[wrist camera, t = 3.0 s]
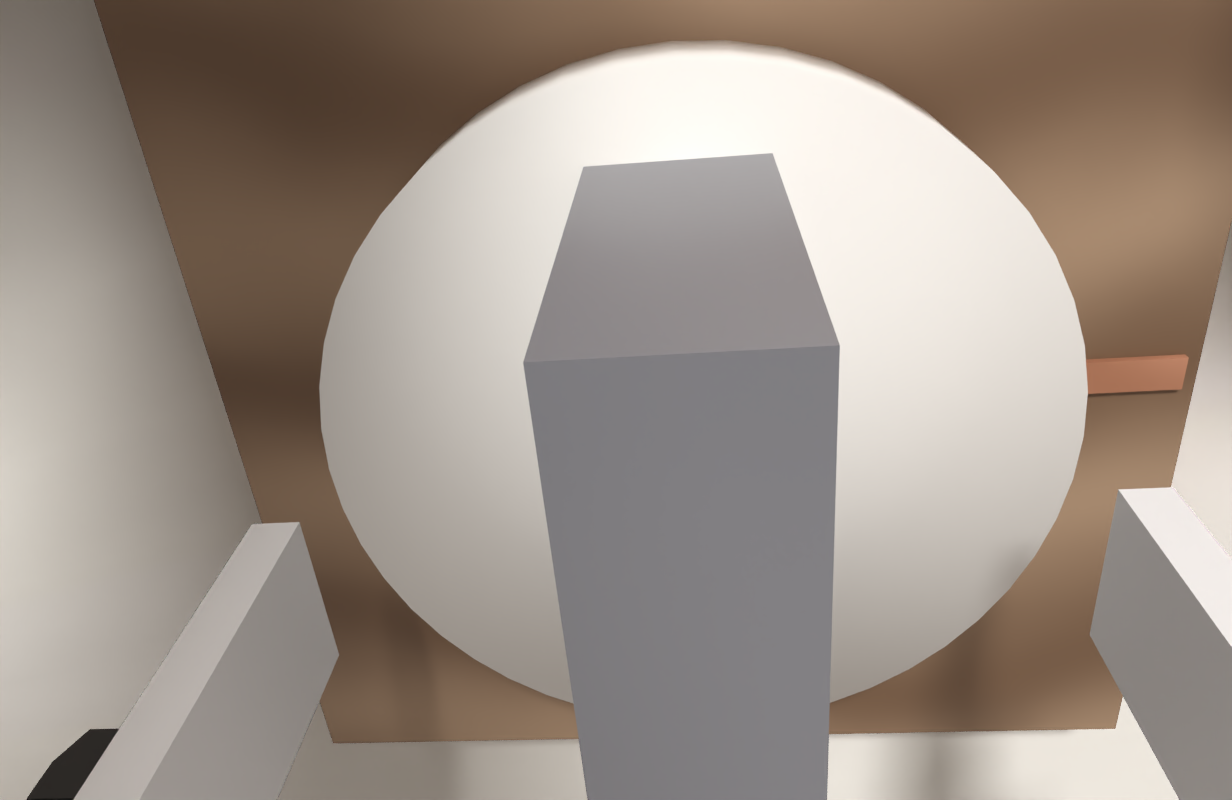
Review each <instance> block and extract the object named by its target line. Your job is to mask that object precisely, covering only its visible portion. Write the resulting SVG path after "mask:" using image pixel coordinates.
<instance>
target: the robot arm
mask: <svg viewBox="0 0 1232 800" xmlns="http://www.w3.org/2000/svg"><path fill="white" fill-rule="evenodd" d="M1090 636H1091V638H1092V640H1093V642H1094V644H1095V646H1096V647H1097V649H1098V651H1099V653H1100V655H1101V657H1102V658H1103V660H1104V662H1105V664H1106V666H1107V668H1108V669H1109V671H1110V673H1111V675H1112V677H1113V679H1114V680H1115V682H1116V684H1117V686H1118V688H1119V690H1120V691H1121V693H1122V695H1123V697H1124V699H1125V701H1126V702H1127V704H1128V706H1129V708H1130V710H1131V712H1132V713H1133V715H1134V717H1135V719H1136V721H1137V723H1138V725H1139V726H1140V728H1141V730H1142V732H1143V734H1144V736H1145V737H1146V739H1147V741H1148V743H1149V745H1150V747H1151V748H1152V750H1153V752H1154V754H1155V756H1156V758H1157V759H1158V761H1159V763H1160V765H1161V767H1162V769H1163V770H1164V772H1165V774H1166V776H1167V778H1168V780H1169V781H1170V783H1171V785H1172V787H1173V789H1174V791H1175V792H1176V794H1177V796H1178V798H1179V800H1232V558H1231V557H1230V556H1229V554H1228V553H1227V552H1226V551H1225V550H1224V548H1223V547H1222V546H1221V545H1220V543H1219V542H1218V541H1217V540H1216V538H1215V537H1214V536H1213V535H1212V534H1211V532H1210V531H1209V530H1208V529H1207V527H1206V526H1205V525H1204V524H1203V522H1202V521H1201V520H1200V519H1199V518H1198V516H1197V515H1196V514H1195V513H1194V511H1193V510H1192V509H1191V508H1190V506H1189V505H1188V504H1187V503H1186V502H1185V500H1184V499H1183V498H1182V497H1181V495H1180V494H1179V493H1178V492H1177V490H1176V489H1175V488H1174V487H1168V488H1143V489H1118V493H1117V498H1116V503H1115V508H1114V514H1113V519H1112V524H1111V529H1110V534H1109V539H1108V544H1107V549H1106V554H1105V559H1104V564H1103V569H1102V574H1101V579H1100V584H1099V589H1098V594H1097V599H1096V604H1095V609H1094V615H1093V620H1092V625H1091V630H1090ZM338 657H339V653H338V649H337V646H336V643H335V639H334V636H333V633H332V629H331V626H330V623H329V619H328V616H327V613H326V609H325V606H324V603H323V599H322V596H321V592H320V589H319V586H318V582H317V579H316V576H315V572H314V569H313V566H312V562H311V559H310V556H309V552H308V549H307V546H306V542H305V539H304V536H303V532H302V529H301V526H300V522H289V523H263V524H252V525H251V526H250V528H249V529H248V531H247V532H246V534H245V536H244V537H243V539H242V540H241V542H240V543H239V545H238V546H237V548H236V549H235V551H234V552H233V554H232V556H231V557H230V559H229V560H228V562H227V563H226V565H225V566H224V568H223V569H222V571H221V573H220V574H219V576H218V577H217V579H216V580H215V582H214V583H213V585H212V586H211V588H210V590H209V591H208V593H207V594H206V596H205V597H204V599H203V600H202V602H201V603H200V605H199V607H198V608H197V610H196V611H195V613H194V614H193V616H192V617H191V619H190V620H189V622H188V623H187V625H186V627H185V628H184V630H183V631H182V633H181V634H180V636H179V637H178V639H177V640H176V642H175V644H174V645H173V647H172V648H171V650H170V651H169V653H168V654H167V656H166V657H165V659H164V661H163V662H162V664H161V665H160V667H159V668H158V670H157V671H156V673H155V674H154V676H153V678H152V679H151V681H150V682H149V684H148V685H147V687H146V688H145V690H144V691H143V693H142V694H141V696H140V698H139V699H138V701H137V702H136V704H135V705H134V707H133V708H132V710H131V711H130V713H129V715H128V716H127V718H126V719H125V721H124V722H123V724H122V725H121V727H120V728H119V729H90V730H89V731H88V732H86V733H85V734H84V735H83V736H82V737H81V738H79V739H78V740H77V741H76V742H75V743H74V744H73V745H71V746H70V747H69V748H68V749H67V750H66V751H64V752H63V753H62V754H61V755H60V756H59V757H58V758H56V759H55V760H54V761H53V762H52V763H51V765H50V766H49V768H48V769H47V770H46V772H45V773H44V775H43V776H42V778H41V779H40V780H39V782H38V783H37V785H36V786H35V788H34V789H33V790H32V792H31V793H30V795H29V796H28V798H27V800H277V799H278V797H279V794H280V792H281V790H282V787H283V785H284V783H285V780H286V778H287V776H288V773H289V771H290V769H291V766H292V764H293V762H294V759H295V757H296V755H297V752H298V750H299V748H300V745H301V743H302V741H303V738H304V736H305V734H306V731H307V729H308V727H309V724H310V722H311V720H312V717H313V715H314V713H315V710H316V708H317V706H318V703H319V701H320V699H321V696H322V694H323V692H324V689H325V687H326V685H327V682H328V680H329V678H330V675H331V673H332V671H333V668H334V666H335V664H336V661H337V659H338Z"/></svg>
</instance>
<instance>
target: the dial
mask: <svg viewBox="0 0 1232 800" xmlns="http://www.w3.org/2000/svg"><path fill="white" fill-rule="evenodd" d="M319 391H320V413H321V430H322V436H323V441H324V446H325V451H326V456H327V461H328V466H329V471H330V474H331V476H332V479H333V482H334V485H335V488H336V491H337V494H338V496H339V499H340V502H341V505H342V508H343V510H344V512H345V514H346V516H347V518H348V520H349V522H350V524H351V526H352V528H353V530H354V532H355V534H356V536H357V538H358V540H359V542H360V543H361V545H362V547H363V548H364V550H365V551H366V553H367V554H368V556H369V557H370V558H371V560H372V561H373V563H374V564H375V566H376V567H377V569H378V570H379V572H380V573H381V574H382V576H383V577H384V579H385V580H386V581H387V582H388V583H389V584H390V586H391V587H392V588H393V589H394V590H395V591H396V592H397V593H398V595H399V596H400V597H401V598H402V599H403V600H404V601H405V602H406V604H407V605H408V606H409V607H410V608H411V609H412V610H413V611H414V612H415V613H416V614H418V615H419V616H420V617H421V618H422V619H423V620H424V621H425V622H426V623H428V624H429V625H430V626H431V627H432V628H433V629H434V630H435V631H437V632H438V633H439V634H440V635H441V636H442V637H444V638H445V639H447V640H448V641H449V642H451V643H452V644H454V645H455V646H457V647H458V648H459V649H461V650H462V651H464V652H465V653H466V654H468V655H469V656H471V657H472V658H473V659H475V660H477V661H479V662H480V663H482V664H484V665H486V666H488V667H489V668H491V669H493V670H495V671H496V672H498V673H500V674H502V675H504V676H505V677H507V678H509V679H511V680H513V681H516V682H518V683H520V684H523V685H525V686H527V687H529V688H532V689H534V690H536V691H539V692H541V693H543V694H546V695H548V696H551V697H555V698H558V699H561V700H564V701H567V702H570V703H573V704H574V710H575V717H576V724H577V730H578V737H579V744H580V751H581V757H582V764H583V771H584V778H585V785H586V791H587V798H588V800H827V778H828V743H829V708H830V703H831V702H834V701H837V700H839V699H842V698H845V697H847V696H850V695H853V694H856V693H858V692H861V691H864V690H866V689H869V688H872V687H874V686H876V685H878V684H880V683H882V682H884V681H886V680H888V679H890V678H892V677H894V676H896V675H898V674H900V673H902V672H904V671H906V670H908V669H910V668H912V667H913V666H915V665H917V664H918V663H920V662H921V661H923V660H925V659H926V658H928V657H929V656H931V655H933V654H934V653H936V652H937V651H939V650H941V649H942V648H944V647H945V646H947V645H948V644H949V643H950V642H952V641H953V640H954V639H955V638H957V637H958V636H959V635H960V634H962V633H963V632H964V631H965V630H967V629H968V628H969V627H971V626H972V625H973V624H974V623H976V622H977V621H978V620H979V619H980V618H981V617H982V616H983V615H984V614H985V613H986V612H987V611H988V610H989V609H990V608H991V607H992V606H993V605H994V604H995V603H996V602H997V601H998V600H999V599H1000V598H1001V597H1002V596H1003V595H1004V594H1005V593H1006V592H1007V591H1008V590H1009V589H1010V588H1011V586H1012V585H1013V584H1014V582H1015V581H1016V580H1017V579H1018V577H1019V576H1020V575H1021V573H1022V572H1023V571H1024V569H1025V568H1026V567H1027V566H1028V564H1029V563H1030V562H1031V560H1032V559H1033V558H1034V557H1035V555H1036V553H1037V552H1038V550H1039V548H1040V547H1041V545H1042V543H1043V541H1044V540H1045V538H1046V536H1047V535H1048V533H1049V531H1050V529H1051V528H1052V526H1053V524H1054V523H1055V521H1056V519H1057V517H1058V514H1059V512H1060V510H1061V507H1062V505H1063V502H1064V500H1065V497H1066V495H1067V493H1068V490H1069V488H1070V485H1071V483H1072V480H1073V477H1074V473H1075V469H1076V465H1077V462H1078V458H1079V454H1080V450H1081V446H1082V442H1083V438H1084V429H1085V418H1086V407H1087V397H1088V385H1087V370H1086V355H1085V344H1084V340H1083V336H1082V331H1081V327H1080V323H1079V318H1078V314H1077V310H1076V305H1075V301H1074V298H1073V296H1072V293H1071V291H1070V289H1069V286H1068V284H1067V281H1066V279H1065V276H1064V274H1063V272H1062V269H1061V267H1060V264H1059V262H1058V259H1057V257H1056V255H1055V253H1054V252H1053V250H1052V248H1051V247H1050V245H1049V243H1048V242H1047V240H1046V239H1045V237H1044V235H1043V234H1042V232H1041V231H1040V229H1039V227H1038V226H1037V224H1036V222H1035V221H1034V219H1033V218H1032V216H1031V214H1030V213H1029V211H1028V210H1027V209H1026V208H1025V207H1024V206H1023V204H1022V203H1021V202H1020V201H1019V200H1018V199H1017V197H1016V196H1015V195H1014V194H1013V193H1012V192H1011V191H1010V189H1009V188H1008V187H1007V186H1006V185H1005V184H1004V182H1003V181H1002V180H1001V179H1000V178H999V177H998V175H997V174H996V173H995V172H994V171H993V170H992V169H991V168H990V167H989V166H988V165H986V164H985V163H984V162H983V161H982V160H981V159H980V158H979V157H978V156H977V155H976V154H975V153H974V152H973V151H971V150H970V149H969V148H968V147H967V146H966V145H965V144H964V143H963V142H962V141H961V140H960V139H958V138H957V137H956V136H955V135H954V134H953V133H951V132H950V131H949V130H948V129H947V128H945V127H944V126H943V125H942V124H941V123H940V122H938V121H937V120H936V119H935V118H934V117H932V116H931V115H930V114H929V113H928V112H927V111H925V110H924V109H923V108H921V107H920V106H918V105H916V104H915V103H913V102H912V101H910V100H908V99H907V98H905V97H904V96H902V95H900V94H899V93H897V92H895V91H894V90H892V89H891V88H889V87H887V86H886V85H884V84H883V83H881V82H879V81H877V80H874V79H872V78H870V77H867V76H865V75H863V74H861V73H858V72H856V71H854V70H851V69H849V68H847V67H844V66H842V65H840V64H837V63H835V62H833V61H830V60H826V59H822V58H819V57H815V56H811V55H808V54H804V53H800V52H797V51H793V50H789V49H786V48H782V47H776V46H768V45H760V44H752V43H744V42H736V41H728V40H707V41H668V42H662V43H655V44H649V45H642V46H636V47H629V48H622V49H617V50H614V51H611V52H607V53H604V54H600V55H597V56H594V57H590V58H587V59H584V60H580V61H577V62H573V63H570V64H567V65H565V66H563V67H560V68H558V69H556V70H554V71H552V72H549V73H547V74H545V75H543V76H541V77H539V78H536V79H534V80H532V81H530V82H528V83H525V84H523V85H521V86H519V87H518V88H516V89H515V90H513V91H511V92H510V93H508V94H507V95H505V96H504V97H502V98H500V99H499V100H497V101H496V102H494V103H493V104H491V105H489V106H488V107H486V108H485V109H483V110H482V111H480V112H478V113H477V114H476V115H475V116H474V117H472V118H471V119H470V120H469V121H468V122H467V123H465V124H464V125H463V126H462V127H461V128H460V129H459V130H457V131H456V132H455V133H454V134H453V135H452V136H450V137H449V138H448V139H447V140H446V141H445V142H443V143H442V144H441V145H440V146H439V147H438V148H437V150H436V151H435V152H434V153H433V154H432V155H431V157H430V158H429V159H428V160H427V161H426V162H425V163H424V165H423V166H422V167H421V168H420V169H419V170H418V172H417V173H416V174H415V175H414V176H413V177H412V178H411V180H410V181H409V182H408V183H407V184H406V185H405V187H404V188H403V189H402V190H401V191H400V192H399V194H398V195H397V196H396V197H395V198H394V199H393V201H392V202H391V203H390V204H389V205H388V206H387V208H386V209H385V210H384V211H383V212H382V213H381V215H380V216H379V218H378V219H377V221H376V222H375V224H374V226H373V227H372V229H371V230H370V232H369V234H368V235H367V237H366V238H365V240H364V241H363V243H362V245H361V246H360V248H359V249H358V251H357V252H356V254H355V256H354V258H353V260H352V262H351V265H350V267H349V269H348V272H347V274H346V276H345V278H344V281H343V283H342V285H341V288H340V290H339V292H338V294H337V297H336V299H335V303H334V306H333V310H332V314H331V318H330V322H329V325H328V329H327V333H326V337H325V340H324V346H323V356H322V365H321V375H320V384H319Z"/></svg>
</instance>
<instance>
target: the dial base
mask: <svg viewBox="0 0 1232 800" xmlns="http://www.w3.org/2000/svg"><path fill="white" fill-rule="evenodd" d="M94 2H95V5H96V8H97V11H98V15H99V18H100V21H101V24H102V27H103V30H104V33H105V36H106V39H107V42H108V46H109V49H110V52H111V55H112V58H113V61H114V64H115V67H116V70H117V74H118V77H119V80H120V83H121V86H122V89H123V92H124V95H125V98H126V101H127V105H128V108H129V111H130V114H131V117H132V120H133V123H134V126H135V129H136V133H137V136H138V139H139V142H140V145H141V148H142V151H143V154H144V157H145V160H146V164H147V167H148V170H149V173H150V176H151V179H152V182H153V185H154V188H155V192H156V195H157V198H158V201H159V204H160V207H161V210H162V213H163V216H164V219H165V223H166V226H167V229H168V232H169V235H170V238H171V241H172V244H173V247H174V251H175V254H176V257H177V260H178V263H179V266H180V269H181V272H182V275H183V278H184V282H185V285H186V288H187V291H188V294H189V297H190V300H191V303H192V306H193V309H194V313H195V316H196V319H197V322H198V325H199V328H200V331H201V334H202V337H203V341H204V344H205V347H206V350H207V353H208V356H209V359H210V362H211V365H212V368H213V372H214V375H215V378H216V381H217V384H218V387H219V390H220V393H221V396H222V400H223V403H224V406H225V409H226V412H227V415H228V418H229V421H230V424H231V427H232V431H233V434H234V437H235V440H236V443H237V446H238V449H239V452H240V455H241V459H242V462H243V465H244V468H245V471H246V474H247V477H248V480H249V483H250V486H251V490H252V493H253V496H254V499H255V502H256V505H257V508H258V511H259V514H260V518H261V521H262V524H263V523H289V522H300V526H301V529H302V532H303V536H304V539H305V542H306V546H307V549H308V552H309V556H310V559H311V562H312V566H313V569H314V572H315V576H316V579H317V582H318V586H319V589H320V592H321V596H322V599H323V603H324V606H325V609H326V613H327V616H328V619H329V623H330V626H331V629H332V633H333V636H334V639H335V643H336V646H337V649H338V653H339V657H338V659H337V661H336V664H335V666H334V668H333V671H332V673H331V675H330V678H329V680H328V682H327V685H326V687H325V689H324V692H323V694H322V696H321V699H320V704H321V707H322V710H323V713H324V716H325V719H326V722H327V726H328V729H329V732H330V735H331V738H332V741H333V743H374V742H427V741H481V740H534V739H579V737H578V730H577V724H576V717H575V710H574V704H573V703H570V702H567V701H564V700H561V699H558V698H555V697H551V696H548V695H546V694H543V693H541V692H539V691H536V690H534V689H532V688H529V687H527V686H525V685H523V684H520V683H518V682H516V681H513V680H511V679H509V678H507V677H505V676H504V675H502V674H500V673H498V672H496V671H495V670H493V669H491V668H489V667H488V666H486V665H484V664H482V663H480V662H479V661H477V660H475V659H473V658H472V657H471V656H469V655H468V654H466V653H465V652H464V651H462V650H461V649H459V648H458V647H457V646H455V645H454V644H452V643H451V642H449V641H448V640H447V639H445V638H444V637H442V636H441V635H440V634H439V633H438V632H437V631H435V630H434V629H433V628H432V627H431V626H430V625H429V624H428V623H426V622H425V621H424V620H423V619H422V618H421V617H420V616H419V615H418V614H416V613H415V612H414V611H413V610H412V609H411V608H410V607H409V606H408V605H407V604H406V602H405V601H404V600H403V599H402V598H401V597H400V596H399V595H398V593H397V592H396V591H395V590H394V589H393V588H392V587H391V586H390V584H389V583H388V582H387V581H386V580H385V579H384V577H383V576H382V574H381V573H380V572H379V570H378V569H377V567H376V566H375V564H374V563H373V561H372V560H371V558H370V557H369V556H368V554H367V553H366V551H365V550H364V548H363V547H362V545H361V543H360V542H359V540H358V538H357V536H356V534H355V532H354V530H353V528H352V526H351V524H350V522H349V520H348V518H347V516H346V514H345V512H344V510H343V508H342V505H341V502H340V499H339V496H338V494H337V491H336V488H335V485H334V482H333V479H332V476H331V474H330V471H329V466H328V461H327V456H326V451H325V446H324V441H323V436H322V430H321V413H320V391H319V384H320V375H321V365H322V356H323V346H324V340H325V337H326V333H327V329H328V325H329V322H330V318H331V314H332V310H333V306H334V303H335V299H336V297H337V294H338V292H339V290H340V288H341V285H342V283H343V281H344V278H345V276H346V274H347V272H348V269H349V267H350V265H351V262H352V260H353V258H354V256H355V254H356V252H357V251H358V249H359V248H360V246H361V245H362V243H363V241H364V240H365V238H366V237H367V235H368V234H369V232H370V230H371V229H372V227H373V226H374V224H375V222H376V221H377V219H378V218H379V216H380V215H381V213H382V212H383V211H384V210H385V209H386V208H387V206H388V205H389V204H390V203H391V202H392V201H393V199H394V198H395V197H396V196H397V195H398V194H399V192H400V191H401V190H402V189H403V188H404V187H405V185H406V184H407V183H408V182H409V181H410V180H411V178H412V177H413V176H414V175H415V174H416V173H417V172H418V170H419V169H420V168H421V167H422V166H423V165H424V163H425V162H426V161H427V160H428V159H429V158H430V157H431V155H432V154H433V153H434V152H435V151H436V150H437V148H438V147H439V146H440V145H441V144H442V143H443V142H445V141H446V140H447V139H448V138H449V137H450V136H452V135H453V134H454V133H455V132H456V131H457V130H459V129H460V128H461V127H462V126H463V125H464V124H465V123H467V122H468V121H469V120H470V119H471V118H472V117H474V116H475V115H476V114H477V113H478V112H480V111H482V110H483V109H485V108H486V107H488V106H489V105H491V104H493V103H494V102H496V101H497V100H499V99H500V98H502V97H504V96H505V95H507V94H508V93H510V92H511V91H513V90H515V89H516V88H518V87H519V86H521V85H523V84H525V83H528V82H530V81H532V80H534V79H536V78H539V77H541V76H543V75H545V74H547V73H549V72H552V71H554V70H556V69H558V68H560V67H563V66H565V65H567V64H570V63H573V62H577V61H580V60H584V59H587V58H590V57H594V56H597V55H600V54H604V53H607V52H611V51H614V50H617V49H622V48H629V47H636V46H642V45H649V44H655V43H662V42H668V41H707V40H728V41H736V42H744V43H752V44H760V45H768V46H776V47H782V48H786V49H789V50H793V51H797V52H800V53H804V54H808V55H811V56H815V57H819V58H822V59H826V60H830V61H833V62H835V63H837V64H840V65H842V66H844V67H847V68H849V69H851V70H854V71H856V72H858V73H861V74H863V75H865V76H867V77H870V78H872V79H874V80H877V81H879V82H881V83H883V84H884V85H886V86H887V87H889V88H891V89H892V90H894V91H895V92H897V93H899V94H900V95H902V96H904V97H905V98H907V99H908V100H910V101H912V102H913V103H915V104H916V105H918V106H920V107H921V108H923V109H924V110H925V111H927V112H928V113H929V114H930V115H931V116H932V117H934V118H935V119H936V120H937V121H938V122H940V123H941V124H942V125H943V126H944V127H945V128H947V129H948V130H949V131H950V132H951V133H953V134H954V135H955V136H956V137H957V138H958V139H960V140H961V141H962V142H963V143H964V144H965V145H966V146H967V147H968V148H969V149H970V150H971V151H973V152H974V153H975V154H976V155H977V156H978V157H979V158H980V159H981V160H982V161H983V162H984V163H985V164H986V165H988V166H989V167H990V168H991V169H992V170H993V171H994V172H995V173H996V174H997V175H998V177H999V178H1000V179H1001V180H1002V181H1003V182H1004V184H1005V185H1006V186H1007V187H1008V188H1009V189H1010V191H1011V192H1012V193H1013V194H1014V195H1015V196H1016V197H1017V199H1018V200H1019V201H1020V202H1021V203H1022V204H1023V206H1024V207H1025V208H1026V209H1027V210H1028V211H1029V213H1030V214H1031V216H1032V218H1033V219H1034V221H1035V222H1036V224H1037V226H1038V227H1039V229H1040V231H1041V232H1042V234H1043V235H1044V237H1045V239H1046V240H1047V242H1048V243H1049V245H1050V247H1051V248H1052V250H1053V252H1054V253H1055V255H1056V257H1057V259H1058V262H1059V264H1060V267H1061V269H1062V272H1063V274H1064V276H1065V279H1066V281H1067V284H1068V286H1069V289H1070V291H1071V293H1072V296H1073V298H1074V301H1075V305H1076V310H1077V314H1078V318H1079V323H1080V327H1081V331H1082V336H1083V340H1084V344H1085V355H1086V370H1087V385H1088V397H1087V407H1086V418H1085V429H1084V438H1083V442H1082V446H1081V450H1080V454H1079V458H1078V462H1077V465H1076V469H1075V473H1074V477H1073V480H1072V483H1071V485H1070V488H1069V490H1068V493H1067V495H1066V497H1065V500H1064V502H1063V505H1062V507H1061V510H1060V512H1059V514H1058V517H1057V519H1056V521H1055V523H1054V524H1053V526H1052V528H1051V529H1050V531H1049V533H1048V535H1047V536H1046V538H1045V540H1044V541H1043V543H1042V545H1041V547H1040V548H1039V550H1038V552H1037V553H1036V555H1035V557H1034V558H1033V559H1032V560H1031V562H1030V563H1029V564H1028V566H1027V567H1026V568H1025V569H1024V571H1023V572H1022V573H1021V575H1020V576H1019V577H1018V579H1017V580H1016V581H1015V582H1014V584H1013V585H1012V586H1011V588H1010V589H1009V590H1008V591H1007V592H1006V593H1005V594H1004V595H1003V596H1002V597H1001V598H1000V599H999V600H998V601H997V602H996V603H995V604H994V605H993V606H992V607H991V608H990V609H989V610H988V611H987V612H986V613H985V614H984V615H983V616H982V617H981V618H980V619H979V620H978V621H977V622H976V623H974V624H973V625H972V626H971V627H969V628H968V629H967V630H965V631H964V632H963V633H962V634H960V635H959V636H958V637H957V638H955V639H954V640H953V641H952V642H950V643H949V644H948V645H947V646H945V647H944V648H942V649H941V650H939V651H937V652H936V653H934V654H933V655H931V656H929V657H928V658H926V659H925V660H923V661H921V662H920V663H918V664H917V665H915V666H913V667H912V668H910V669H908V670H906V671H904V672H902V673H900V674H898V675H896V676H894V677H892V678H890V679H888V680H886V681H884V682H882V683H880V684H878V685H876V686H874V687H872V688H869V689H866V690H864V691H861V692H858V693H856V694H853V695H850V696H847V697H845V698H842V699H839V700H837V701H834V702H831V703H830V708H829V734H854V733H908V732H961V731H1014V730H1068V729H1115V728H1116V723H1117V719H1118V715H1119V710H1120V706H1121V702H1122V697H1123V695H1122V693H1121V691H1120V690H1119V688H1118V686H1117V684H1116V682H1115V680H1114V679H1113V677H1112V675H1111V673H1110V671H1109V669H1108V668H1107V666H1106V664H1105V662H1104V660H1103V658H1102V657H1101V655H1100V653H1099V651H1098V649H1097V647H1096V646H1095V644H1094V642H1093V640H1092V638H1091V636H1090V630H1091V625H1092V620H1093V615H1094V609H1095V604H1096V599H1097V594H1098V589H1099V584H1100V579H1101V574H1102V569H1103V564H1104V559H1105V554H1106V549H1107V544H1108V539H1109V534H1110V529H1111V524H1112V519H1113V514H1114V508H1115V503H1116V498H1117V493H1118V489H1143V488H1168V487H1171V483H1172V479H1173V475H1174V470H1175V466H1176V462H1177V457H1178V453H1179V448H1180V444H1181V440H1182V435H1183V431H1184V427H1185V422H1186V418H1187V414H1188V409H1189V405H1190V400H1191V396H1192V392H1193V387H1194V383H1195V379H1196V374H1197V370H1198V366H1199V361H1200V357H1201V352H1202V348H1203V344H1204V339H1205V335H1206V331H1207V326H1208V322H1209V318H1210V313H1211V309H1212V304H1213V300H1214V296H1215V291H1216V287H1217V283H1218V278H1219V274H1220V270H1221V265H1222V261H1223V256H1224V252H1225V248H1226V243H1227V239H1228V235H1229V230H1230V226H1231V222H1232V0H94Z"/></svg>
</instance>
